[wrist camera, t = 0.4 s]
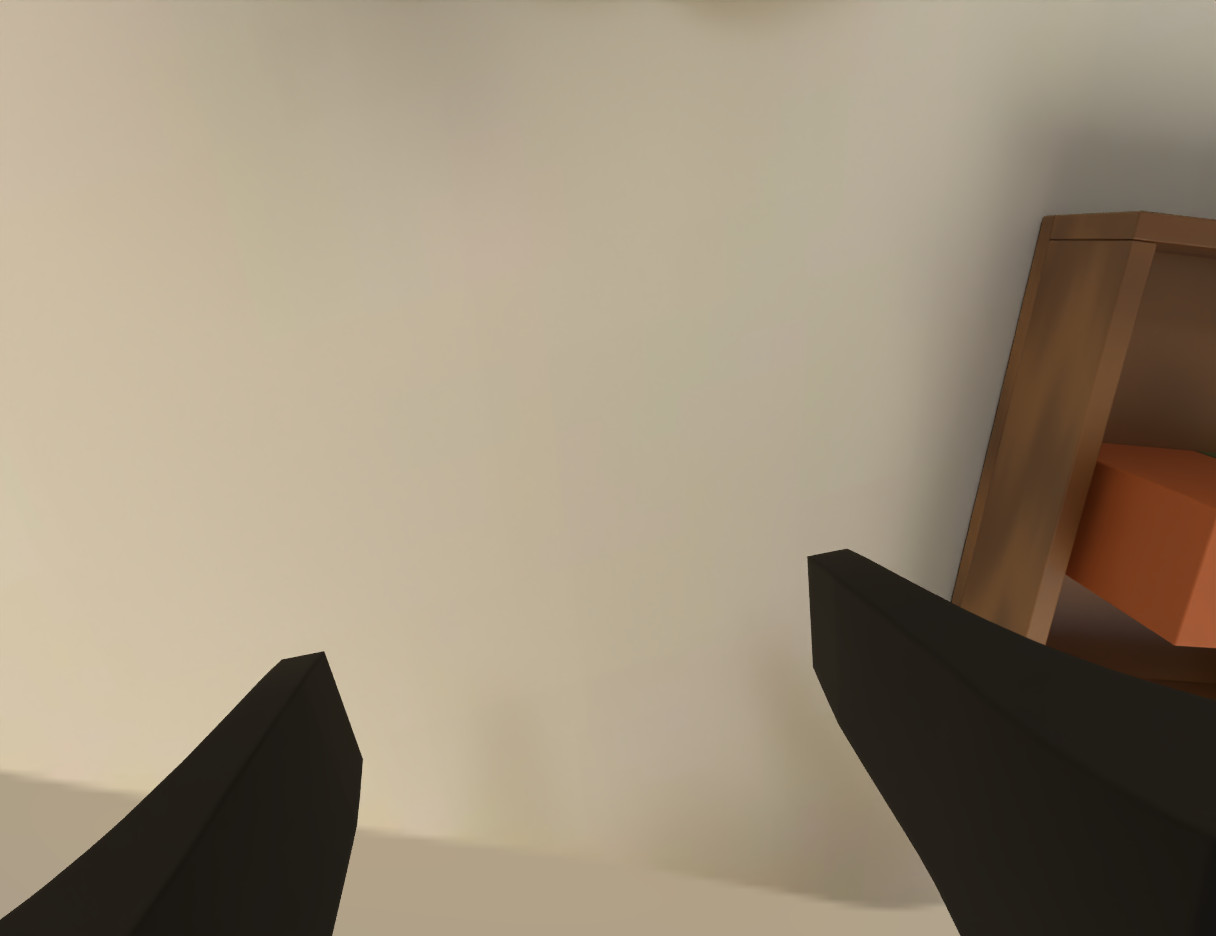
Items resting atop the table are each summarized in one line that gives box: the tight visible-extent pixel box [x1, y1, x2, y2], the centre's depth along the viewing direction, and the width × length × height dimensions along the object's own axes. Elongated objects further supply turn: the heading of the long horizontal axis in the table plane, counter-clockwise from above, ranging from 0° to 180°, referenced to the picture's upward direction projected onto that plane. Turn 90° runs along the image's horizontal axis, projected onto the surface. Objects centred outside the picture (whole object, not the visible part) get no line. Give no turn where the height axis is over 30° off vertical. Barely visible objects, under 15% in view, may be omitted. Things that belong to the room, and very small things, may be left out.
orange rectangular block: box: [1065, 443, 1216, 648], centre depth 19 cm, size 3×4×6 cm, turn 84°
